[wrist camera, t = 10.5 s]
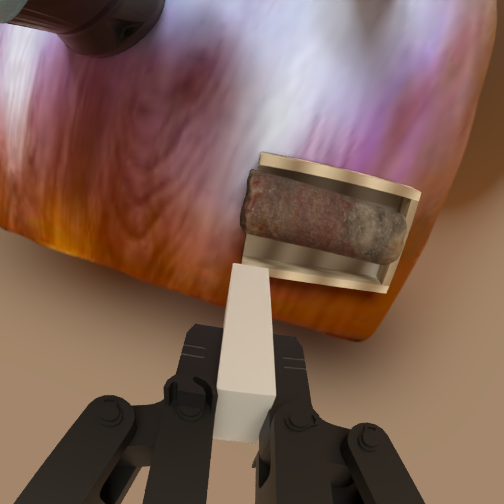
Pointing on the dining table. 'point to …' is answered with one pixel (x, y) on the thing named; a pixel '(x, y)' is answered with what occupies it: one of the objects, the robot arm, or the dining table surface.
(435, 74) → the dining table surface
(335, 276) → the tray
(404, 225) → the candle
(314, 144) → the dining table surface
